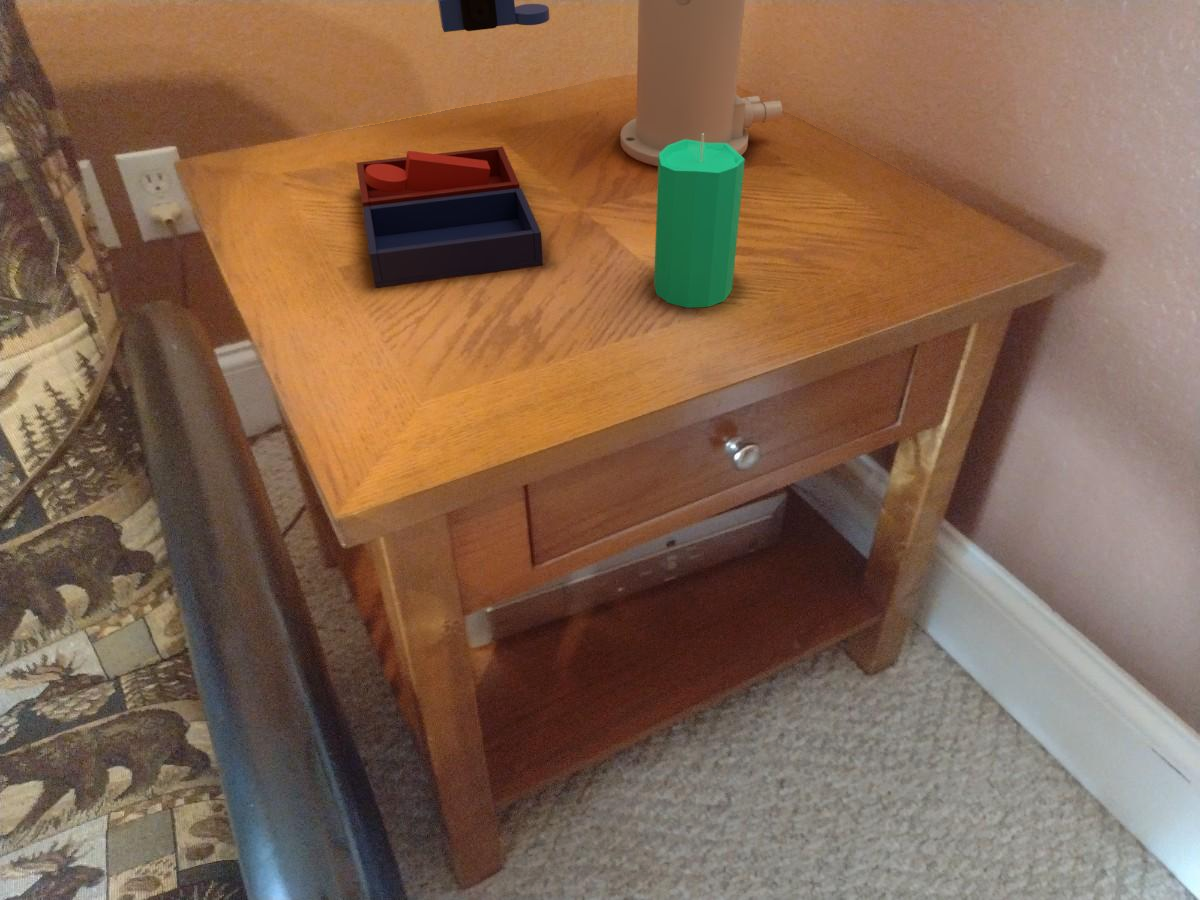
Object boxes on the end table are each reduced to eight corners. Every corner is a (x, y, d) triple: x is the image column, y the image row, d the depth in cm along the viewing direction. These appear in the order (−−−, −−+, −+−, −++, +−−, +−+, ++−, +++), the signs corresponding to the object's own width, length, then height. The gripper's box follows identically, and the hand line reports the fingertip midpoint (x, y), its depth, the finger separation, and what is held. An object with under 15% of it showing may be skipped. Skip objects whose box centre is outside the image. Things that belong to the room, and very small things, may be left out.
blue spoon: (444, 35, 86) (440, 3, 84) (440, 24, 89) (436, -7, 87) (552, 23, 88) (550, -9, 86) (545, 12, 90) (543, -18, 88)
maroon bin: (505, 176, 85) (502, 146, 84) (521, 215, 79) (519, 183, 78) (362, 192, 83) (356, 162, 81) (367, 234, 77) (361, 202, 75)
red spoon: (480, 186, 83) (485, 156, 81) (487, 203, 80) (492, 173, 79) (363, 172, 79) (365, 140, 78) (366, 189, 77) (368, 157, 75)
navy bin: (523, 219, 79) (521, 187, 77) (543, 265, 73) (541, 231, 71) (368, 238, 76) (362, 206, 75) (375, 287, 70) (369, 254, 69)
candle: (727, 311, 67) (743, 154, 60) (647, 303, 68) (652, 148, 61) (735, 271, 72) (750, 120, 64) (660, 264, 73) (665, 114, 65)
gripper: (512, -205, 71) (532, 45, 83) (482, -221, 82) (503, 0, 94) (415, -198, 69) (450, 54, 81) (399, -215, 81) (431, 7, 93)
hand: (478, 23), depth 88 cm, fingers closed on blue spoon
